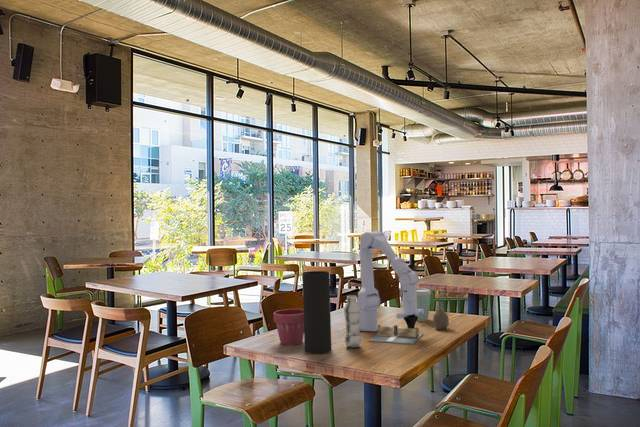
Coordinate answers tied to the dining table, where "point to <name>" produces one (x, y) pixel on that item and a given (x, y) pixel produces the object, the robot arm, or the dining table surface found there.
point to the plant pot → (290, 325)
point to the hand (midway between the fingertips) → (411, 333)
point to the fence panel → (408, 332)
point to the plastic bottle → (352, 322)
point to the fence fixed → (387, 330)
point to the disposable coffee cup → (423, 303)
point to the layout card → (395, 339)
